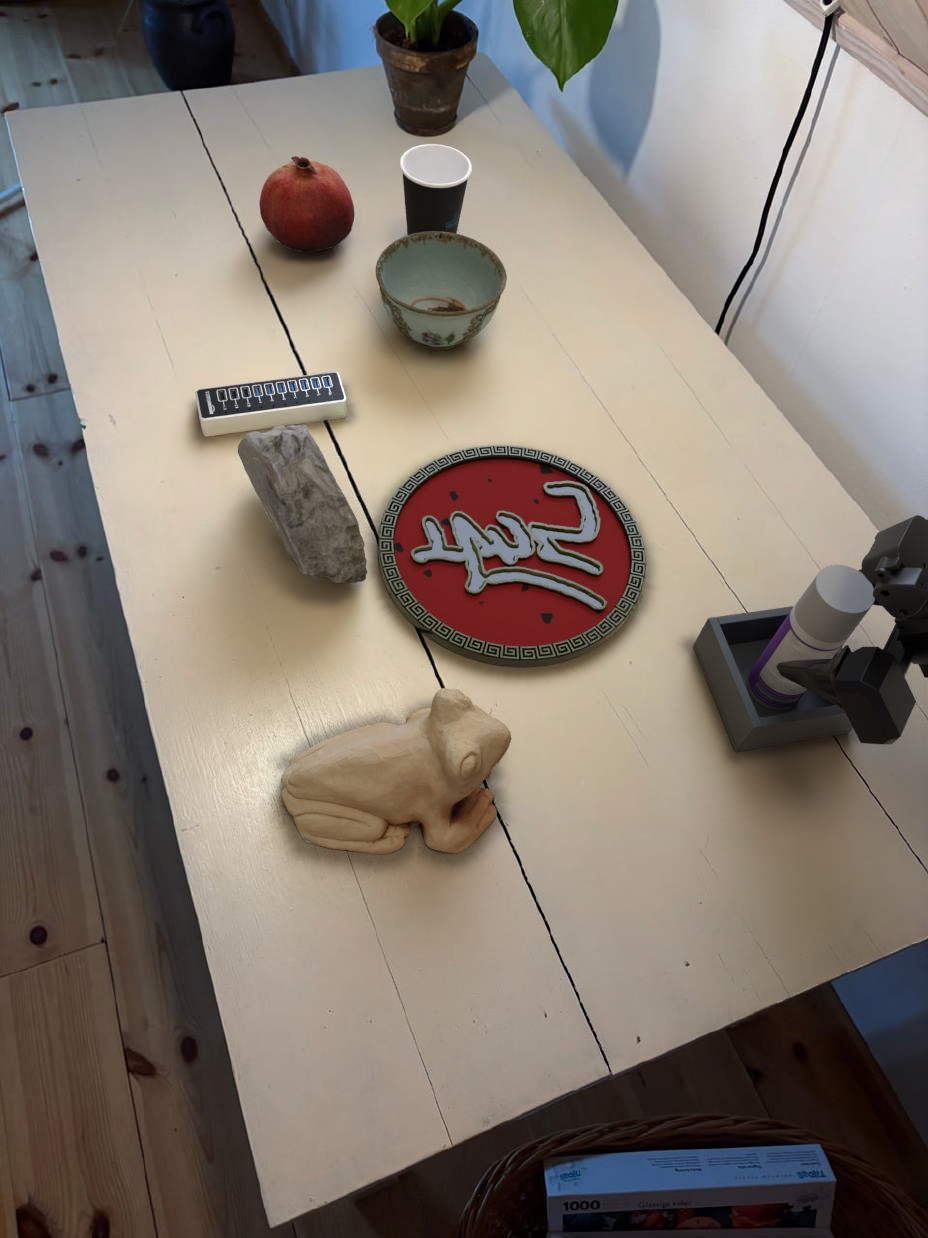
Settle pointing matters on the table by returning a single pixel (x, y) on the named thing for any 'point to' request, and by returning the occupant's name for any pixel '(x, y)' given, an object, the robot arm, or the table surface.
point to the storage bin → (726, 665)
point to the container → (811, 632)
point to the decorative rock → (305, 503)
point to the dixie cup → (434, 187)
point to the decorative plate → (511, 556)
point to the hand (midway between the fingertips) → (801, 629)
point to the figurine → (400, 780)
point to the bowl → (440, 287)
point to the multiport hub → (271, 403)
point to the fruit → (306, 206)
